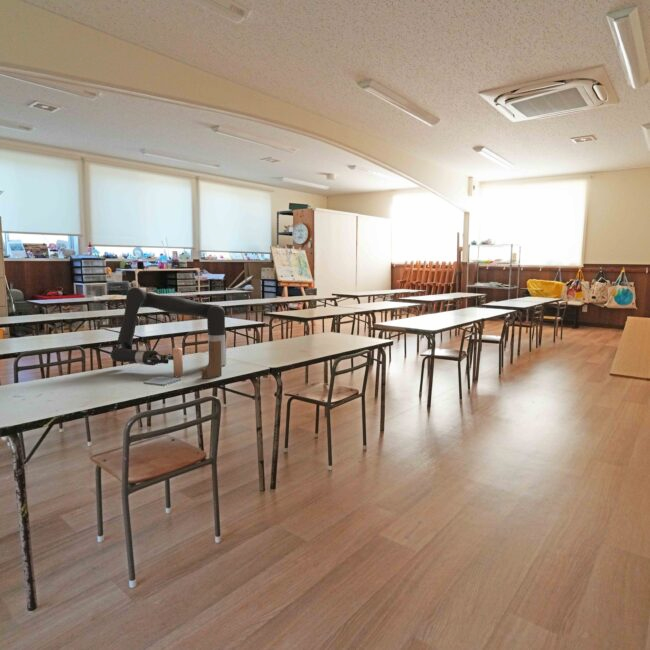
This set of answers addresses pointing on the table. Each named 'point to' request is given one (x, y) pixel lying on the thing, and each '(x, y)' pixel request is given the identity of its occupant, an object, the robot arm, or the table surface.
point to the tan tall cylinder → (177, 362)
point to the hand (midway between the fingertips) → (173, 359)
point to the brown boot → (213, 360)
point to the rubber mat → (161, 380)
